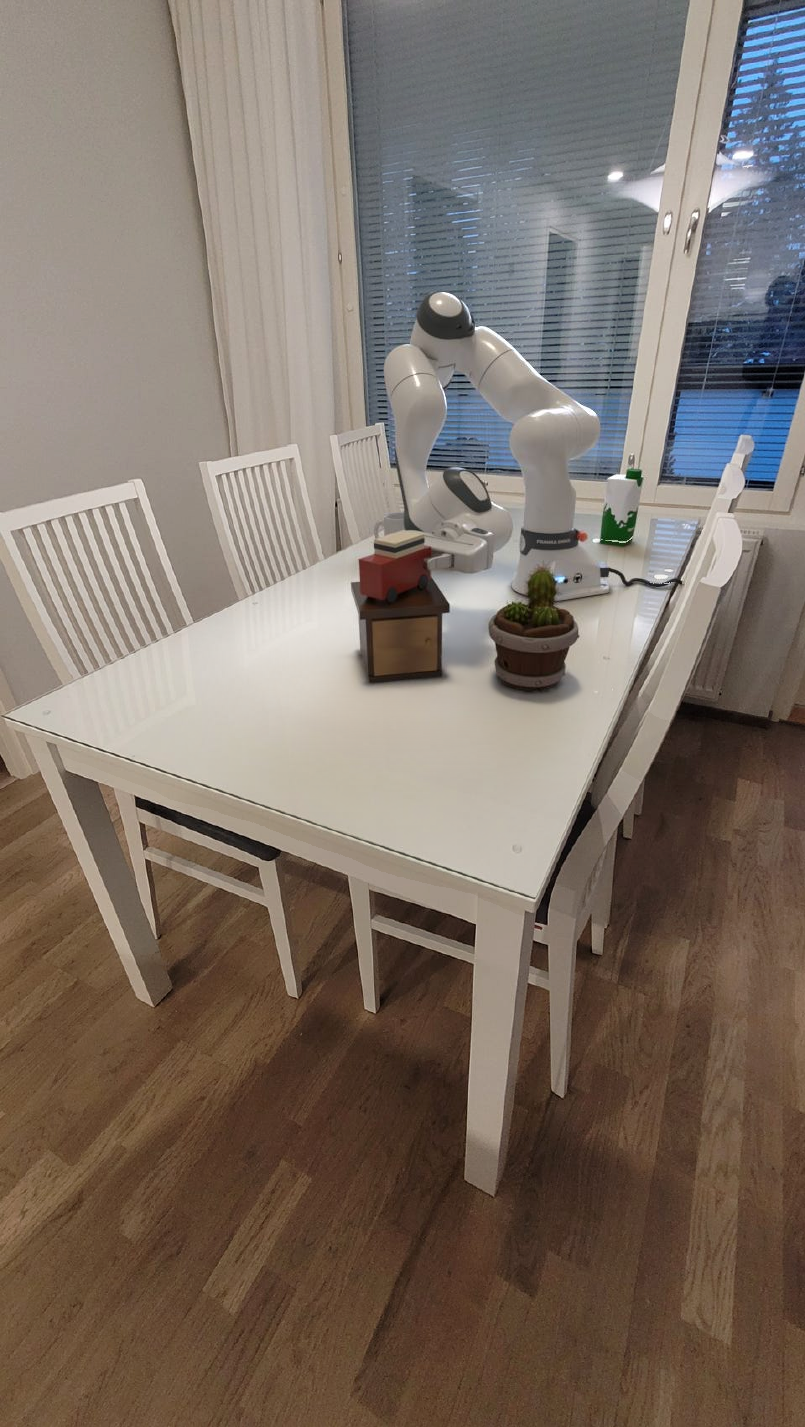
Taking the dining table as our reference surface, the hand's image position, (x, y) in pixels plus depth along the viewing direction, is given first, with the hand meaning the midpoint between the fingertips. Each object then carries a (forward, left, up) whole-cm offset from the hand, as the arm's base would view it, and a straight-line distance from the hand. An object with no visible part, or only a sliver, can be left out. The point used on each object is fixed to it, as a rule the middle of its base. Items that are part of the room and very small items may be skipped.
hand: (406, 560), depth 110 cm
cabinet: (+2, +2, -19) cm, 19 cm away
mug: (-8, -67, -19) cm, 70 cm away
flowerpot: (-19, +13, -19) cm, 29 cm away
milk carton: (-73, -66, -19) cm, 100 cm away
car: (+2, +2, -5) cm, 6 cm away
